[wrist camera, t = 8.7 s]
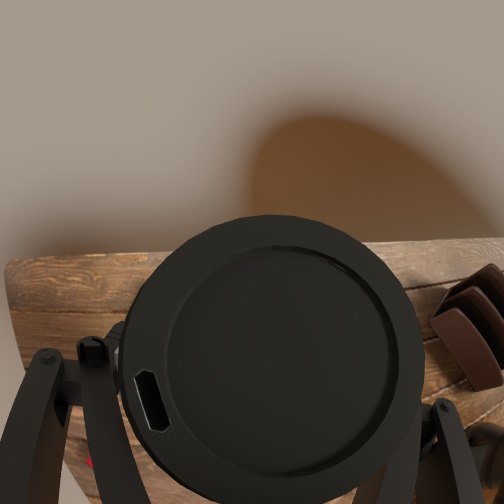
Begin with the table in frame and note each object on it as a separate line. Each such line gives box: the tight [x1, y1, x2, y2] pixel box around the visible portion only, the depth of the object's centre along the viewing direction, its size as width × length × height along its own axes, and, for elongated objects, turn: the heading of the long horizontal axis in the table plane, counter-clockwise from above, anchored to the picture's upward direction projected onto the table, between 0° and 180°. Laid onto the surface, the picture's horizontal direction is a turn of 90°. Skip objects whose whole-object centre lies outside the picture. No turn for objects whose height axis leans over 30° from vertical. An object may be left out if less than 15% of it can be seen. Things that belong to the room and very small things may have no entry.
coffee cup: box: [117, 215, 425, 504], centre depth 13 cm, size 10×10×15 cm
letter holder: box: [428, 263, 504, 392], centre depth 35 cm, size 10×20×14 cm, turn 38°
